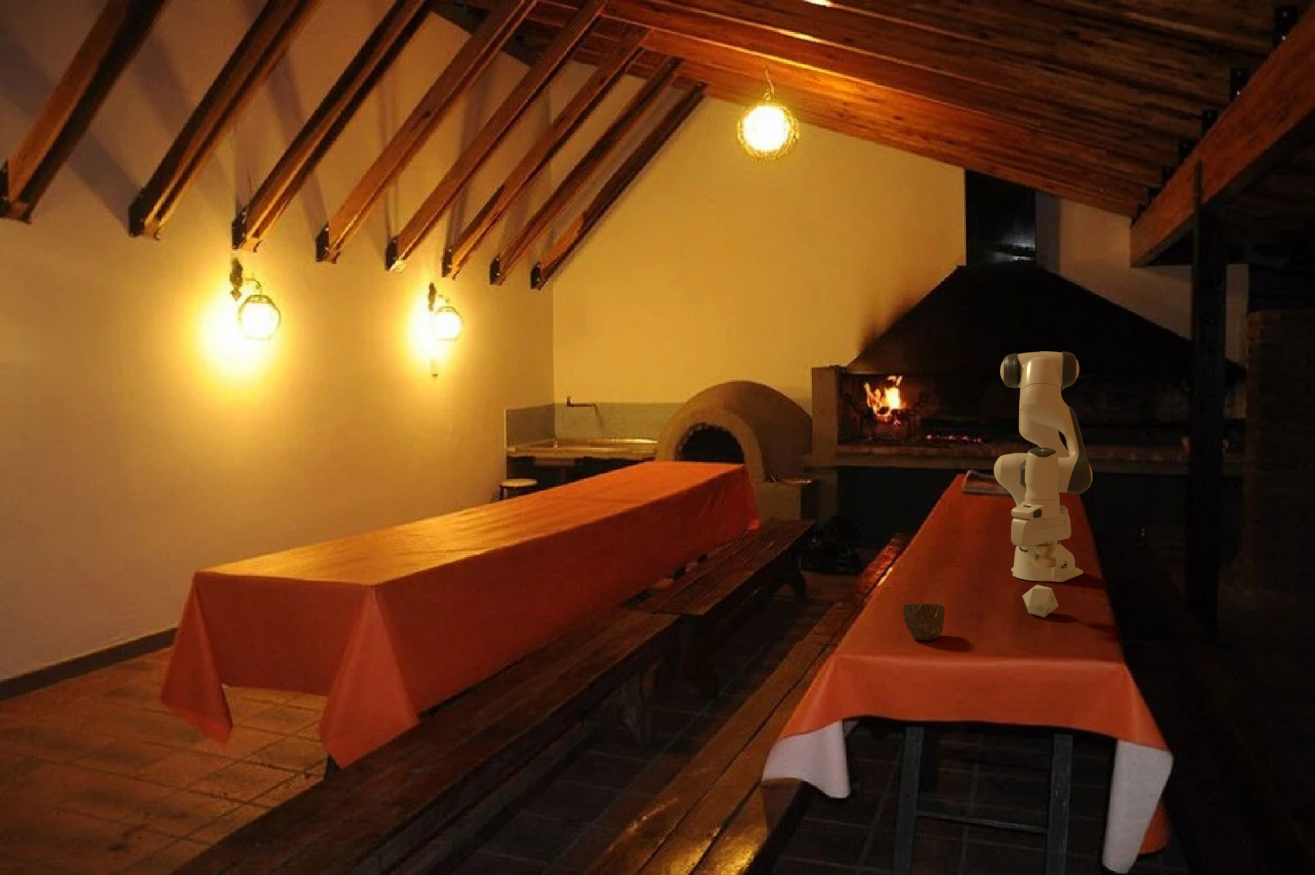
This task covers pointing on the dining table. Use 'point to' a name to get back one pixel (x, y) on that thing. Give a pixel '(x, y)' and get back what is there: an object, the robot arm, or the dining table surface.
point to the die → (1040, 601)
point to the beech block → (1044, 556)
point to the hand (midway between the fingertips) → (1041, 558)
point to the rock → (924, 620)
